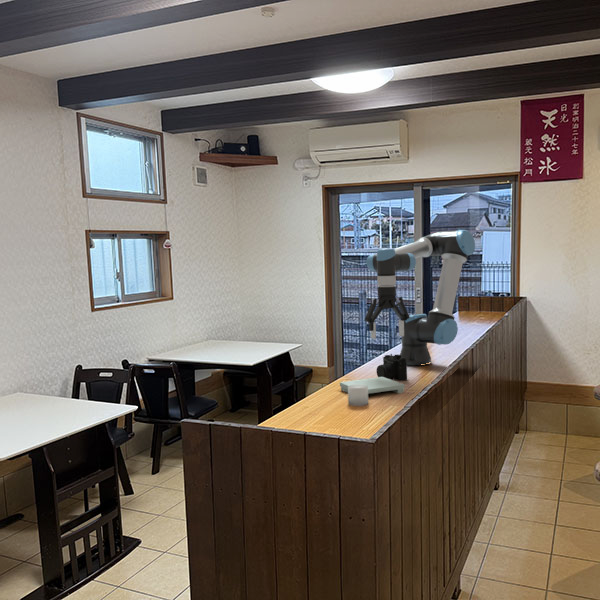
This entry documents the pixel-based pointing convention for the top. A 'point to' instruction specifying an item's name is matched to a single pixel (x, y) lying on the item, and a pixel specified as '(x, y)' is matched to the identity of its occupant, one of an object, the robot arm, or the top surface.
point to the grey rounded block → (358, 395)
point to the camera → (393, 368)
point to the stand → (375, 385)
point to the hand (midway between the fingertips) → (387, 337)
